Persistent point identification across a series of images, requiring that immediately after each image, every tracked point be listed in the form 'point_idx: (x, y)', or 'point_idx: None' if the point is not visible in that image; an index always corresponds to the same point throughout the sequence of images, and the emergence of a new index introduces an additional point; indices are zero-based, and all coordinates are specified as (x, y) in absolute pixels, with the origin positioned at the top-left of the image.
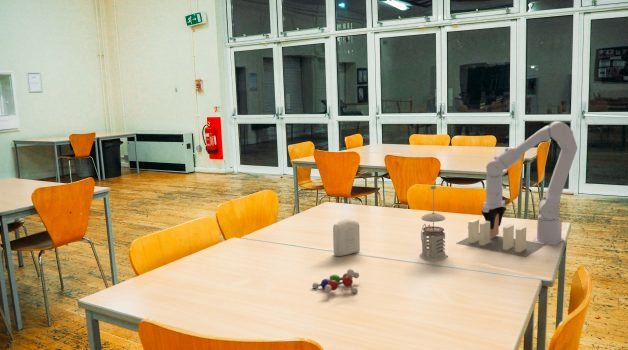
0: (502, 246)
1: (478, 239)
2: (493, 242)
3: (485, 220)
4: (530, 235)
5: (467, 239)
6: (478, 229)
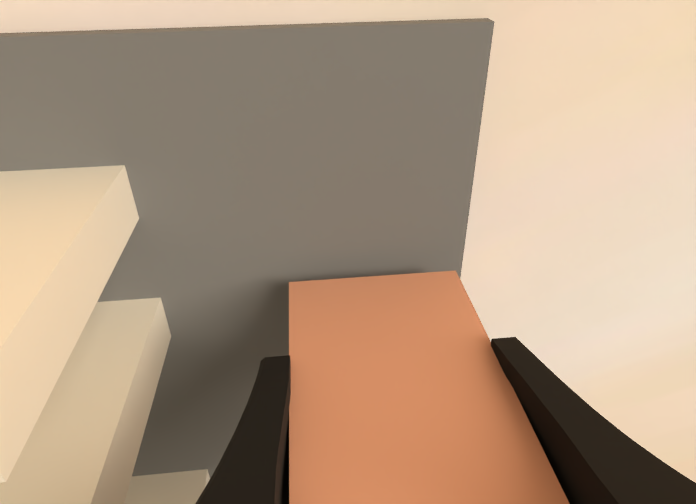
0: (147, 451)
1: (129, 224)
2: (194, 359)
3: (217, 466)
4: (642, 417)
5: (34, 83)
6: (76, 317)
